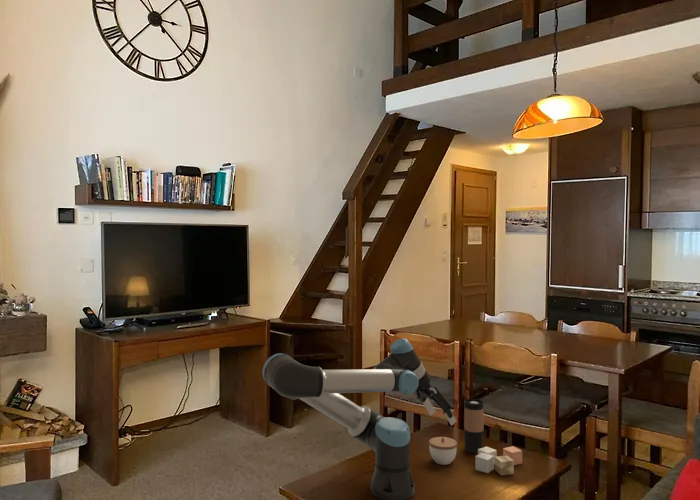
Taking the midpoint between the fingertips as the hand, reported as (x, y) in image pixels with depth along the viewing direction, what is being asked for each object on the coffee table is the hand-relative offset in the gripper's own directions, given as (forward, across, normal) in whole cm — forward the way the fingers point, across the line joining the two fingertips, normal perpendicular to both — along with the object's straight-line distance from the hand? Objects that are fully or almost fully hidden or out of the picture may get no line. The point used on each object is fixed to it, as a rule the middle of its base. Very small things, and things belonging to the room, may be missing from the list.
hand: (443, 418), depth 211 cm
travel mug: (+24, +4, -6) cm, 25 cm away
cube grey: (+20, -12, +1) cm, 23 cm away
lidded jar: (+14, 0, +9) cm, 17 cm away
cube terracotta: (+28, -12, -11) cm, 32 cm away
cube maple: (+23, -17, -3) cm, 29 cm away
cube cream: (+23, -8, -3) cm, 24 cm away
